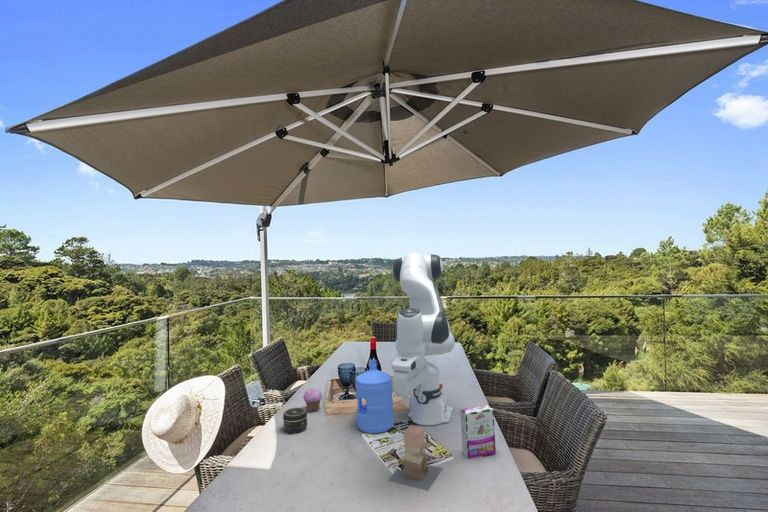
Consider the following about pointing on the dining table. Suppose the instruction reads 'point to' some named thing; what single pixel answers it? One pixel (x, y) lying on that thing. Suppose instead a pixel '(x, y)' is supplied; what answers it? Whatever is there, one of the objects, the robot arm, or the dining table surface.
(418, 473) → the tower base
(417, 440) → the terracotta block
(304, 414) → the jar
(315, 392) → the cupcake
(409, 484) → the mat
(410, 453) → the tower mid
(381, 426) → the water jug
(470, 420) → the candy bar box
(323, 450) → the dining table surface
